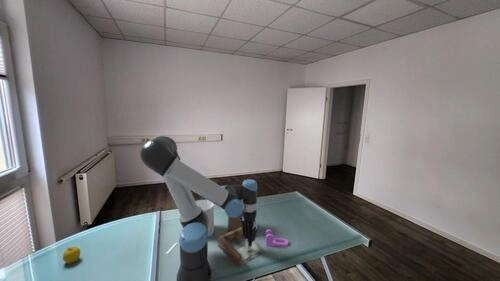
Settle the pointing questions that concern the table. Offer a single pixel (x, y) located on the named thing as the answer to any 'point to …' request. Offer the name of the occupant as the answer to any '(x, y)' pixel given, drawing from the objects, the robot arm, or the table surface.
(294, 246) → the table surface
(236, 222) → the wooden block
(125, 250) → the table surface
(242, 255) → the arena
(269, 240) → the bracket
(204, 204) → the container
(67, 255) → the apple
